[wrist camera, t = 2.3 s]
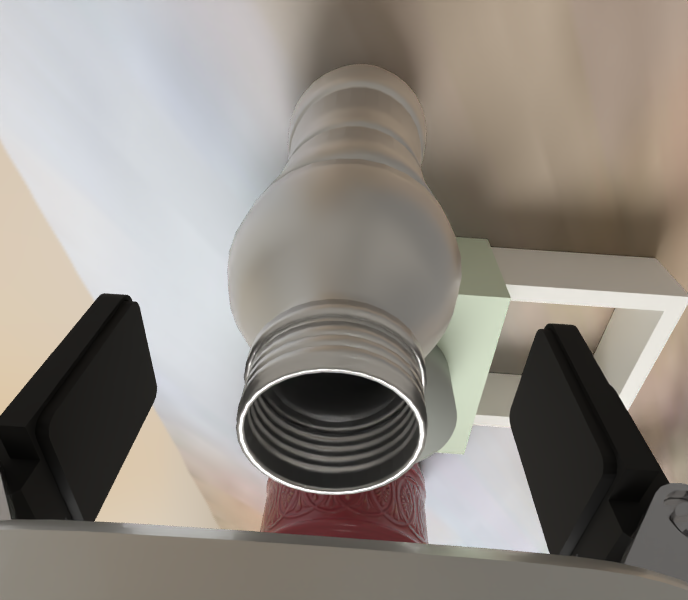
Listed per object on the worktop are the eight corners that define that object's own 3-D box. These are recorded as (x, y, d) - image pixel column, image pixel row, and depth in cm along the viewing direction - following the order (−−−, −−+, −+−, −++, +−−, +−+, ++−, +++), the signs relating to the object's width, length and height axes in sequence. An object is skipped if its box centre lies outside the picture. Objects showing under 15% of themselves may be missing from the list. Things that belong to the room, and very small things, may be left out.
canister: (404, 521, 46) (419, 779, 32) (267, 504, 46) (218, 758, 31) (440, 432, 39) (480, 715, 24) (276, 409, 38) (218, 686, 24)
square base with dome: (283, 225, 29) (252, 318, 22) (659, 250, 29) (757, 353, 21) (286, 373, 36) (264, 482, 29) (589, 395, 36) (645, 510, 28)
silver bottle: (448, 98, 24) (598, 392, 8) (377, 207, 28) (383, 563, 12) (334, 25, 23) (238, 211, 7) (274, 150, 26) (115, 473, 10)
